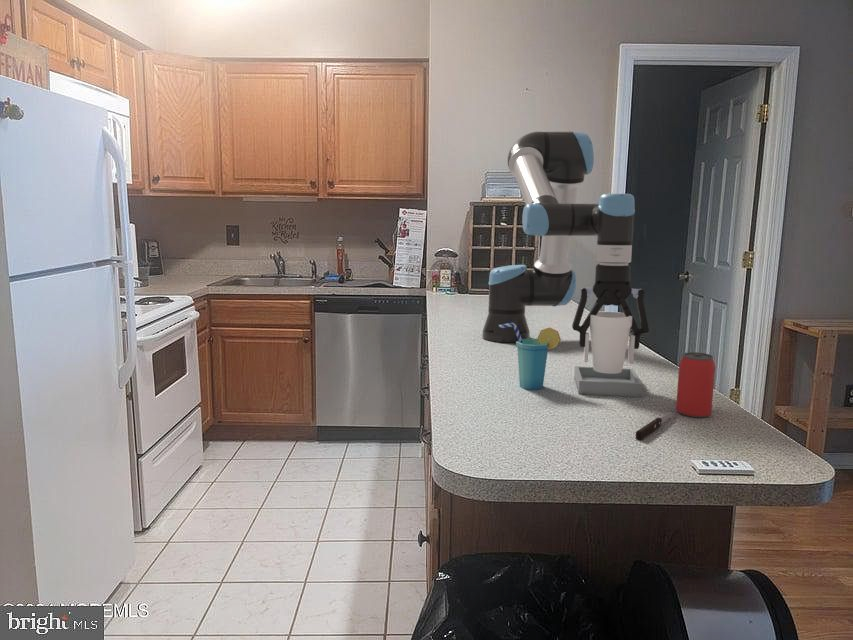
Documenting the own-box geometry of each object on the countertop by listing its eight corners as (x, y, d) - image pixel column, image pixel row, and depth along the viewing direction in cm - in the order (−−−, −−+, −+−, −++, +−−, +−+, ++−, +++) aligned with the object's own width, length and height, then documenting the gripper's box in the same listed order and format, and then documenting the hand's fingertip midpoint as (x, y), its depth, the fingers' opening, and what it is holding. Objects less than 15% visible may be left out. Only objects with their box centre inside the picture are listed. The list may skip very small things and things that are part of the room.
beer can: (709, 410, 126) (714, 353, 124) (712, 420, 120) (718, 360, 118) (674, 406, 128) (679, 350, 126) (676, 416, 122) (681, 357, 120)
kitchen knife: (640, 442, 108) (641, 432, 108) (634, 441, 109) (635, 430, 109) (675, 417, 122) (676, 407, 122) (670, 416, 123) (671, 406, 122)
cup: (498, 390, 139) (499, 325, 136) (496, 381, 147) (497, 319, 144) (560, 392, 138) (563, 326, 136) (555, 382, 146) (558, 320, 143)
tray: (574, 378, 150) (574, 366, 149) (632, 380, 148) (632, 368, 147) (578, 393, 137) (579, 380, 136) (642, 397, 135) (643, 383, 134)
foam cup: (630, 376, 136) (634, 318, 134) (587, 374, 138) (590, 317, 136) (626, 366, 145) (629, 312, 143) (585, 364, 147) (588, 310, 145)
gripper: (564, 264, 136) (559, 363, 139) (668, 266, 132) (661, 367, 136) (562, 261, 143) (558, 356, 147) (661, 263, 139) (654, 359, 143)
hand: (607, 361), depth 141 cm, fingers closed on foam cup, 9 cm apart
